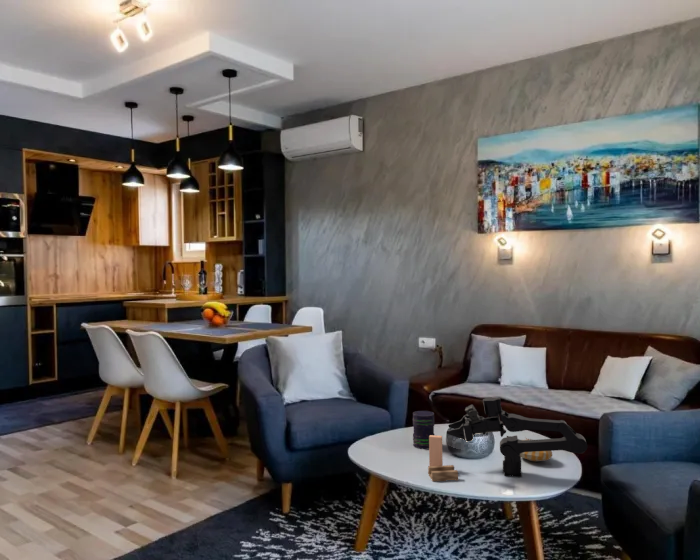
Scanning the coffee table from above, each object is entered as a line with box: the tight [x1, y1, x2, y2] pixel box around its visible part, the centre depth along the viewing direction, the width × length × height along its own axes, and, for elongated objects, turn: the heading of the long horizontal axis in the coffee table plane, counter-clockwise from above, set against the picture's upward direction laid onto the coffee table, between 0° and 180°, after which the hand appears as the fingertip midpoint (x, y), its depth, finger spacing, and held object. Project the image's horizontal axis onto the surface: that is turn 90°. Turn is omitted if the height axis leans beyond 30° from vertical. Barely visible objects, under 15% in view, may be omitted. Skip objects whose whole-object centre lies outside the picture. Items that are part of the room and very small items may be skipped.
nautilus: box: [520, 436, 553, 462], centre depth 242 cm, size 8×22×15 cm
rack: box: [427, 464, 459, 482], centre depth 221 cm, size 10×8×3 cm
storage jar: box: [412, 410, 435, 450], centre depth 260 cm, size 10×10×15 cm
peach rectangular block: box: [428, 434, 444, 466], centre depth 231 cm, size 5×2×13 cm, turn 74°
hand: (447, 429), depth 229 cm, fingers open, 9 cm apart
